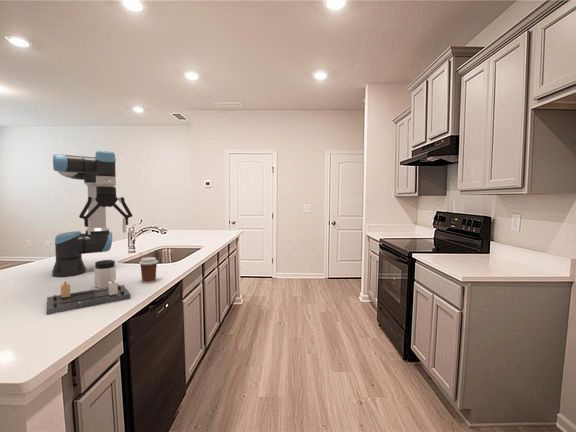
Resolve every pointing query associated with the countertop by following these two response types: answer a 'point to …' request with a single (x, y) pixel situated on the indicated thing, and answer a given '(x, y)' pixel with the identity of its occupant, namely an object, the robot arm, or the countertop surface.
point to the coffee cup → (148, 269)
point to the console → (85, 299)
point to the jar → (104, 273)
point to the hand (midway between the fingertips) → (107, 233)
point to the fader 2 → (112, 287)
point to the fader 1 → (65, 289)
